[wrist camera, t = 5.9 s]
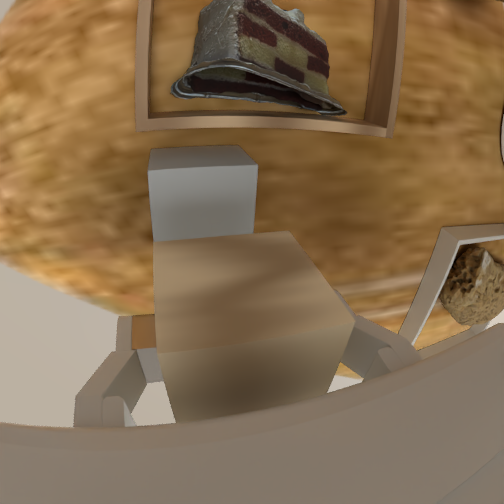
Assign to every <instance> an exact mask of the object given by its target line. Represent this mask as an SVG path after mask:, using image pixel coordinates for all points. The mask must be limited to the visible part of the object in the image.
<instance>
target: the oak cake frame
mask: <svg viewBox="0 0 504 504" xmlns="http://www.w3.org/2000/svg"><path fill="white" fill-rule="evenodd" d="M153 7H154V0H139V5H138V18H137V34H136V59H135V117H136V132H141V131H154V130H168V129H187V128H221V127H251V128H286V129H305V130H319V131H332V132H342V133H352V134H361V135H370V136H378V137H385V138H393V132H394V126H395V120H396V113H397V106H398V99H399V92H400V84H401V75H402V66H403V56H404V44H405V30H406V10H407V0H375V19H374V34H373V47H372V58H371V68H370V78H369V87H368V95H367V103H366V111H365V118H364V120H359V119H352V118H344V117H335V116H326V115H316V114H305V113H291V112H274V111H248V110H201V111H174V112H158V113H150V64H151V38H152V21H153Z"/></svg>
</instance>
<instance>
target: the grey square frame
mask: <svg viewBox="0 0 504 504" xmlns="http://www.w3.org/2000/svg"><path fill="white" fill-rule="evenodd" d="M499 239H504V223H502V224H486V225H470V226H455V227H442V228H441V231H440V234H439V237H438V240H437V243H436V245H435V248H434V251H433V254H432V256H431V259H430V262H429V264H428V267H427V269H426V272H425V274H424V277H423V279H422V282H421V284H420V287H419V289H418V291H417V294H416V296H415V298H414V301H413V303H412V305H411V307H410V310H409V312H408V314H407V316H406V318H405V320H404V322H403V325H402V327H401V329H400V331H399V333H398V335H400V336H402V337H404V338H406V339H408V340H409V342H410V343H411V344H412V346H413V345H414V343H415V341H416V339H417V337H418V336H419V334H420V332H421V330H422V328H423V326H424V324H425V322H426V320H427V318H428V316H429V314H430V312H431V310H432V308H433V306H434V304H435V302H436V300H437V298H438V296H439V294H440V291H441V289H442V287H443V285H444V283H445V280H446V278H447V276H448V273H449V271H450V269H451V266H452V264H453V261H454V259H455V256H456V254H457V251H458V249H459V246H460V245H463V244H470V243H478V242H485V241H492V240H499ZM490 321H491V320H490ZM490 321H488V322H486V323H485V324H478V325H477V324H475V325H472V327H471V328H470V329H468V330H466V331H464V332H462V333H459V334H457V335H455V336H453V337H450V338H448V339H445V340H443V341H441V342H438V343H436V344H433V345H431V346H428V347H426V348H423V349H421V350H418V351H417V352H418V353H419V355H420V356H421V357H422V359H425V358H428V357H430V356H432V355H435V354H437V353H439V352H441V351H444V350H446V349H448V348H450V347H452V346H454V345H457V344H459V343H461V342H463V341H465V340H467V339H469V338H471V337H473V336H475V335H477V334H479V333H481V332H483V331H484V330H486V328H487V326H488V325H489V323H490Z"/></svg>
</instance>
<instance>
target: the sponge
mask: <svg viewBox="0 0 504 504" xmlns="http://www.w3.org/2000/svg"><path fill="white" fill-rule="evenodd" d="M453 266H454V268H455V269H453V268H451V269H450V271H449V273H448V276H447V278H446V280H445V283H444V285H443V287H442V289H441V291H440V298H441V301H442V304H443V306H444V307H445V308H446V309H447V310H448V312H449V313H450V314H451V316H452V317H453V318H454V319H455V320H456V321H457V322H458V323H459V324H461V325H469V326H471V325H475V324H477V325H478V324H485V323H486V322H488V321H490V320H492V319H493V318H494V317H496V316H497V315H498V314H499V313H500V312H501V311H502V310H503V309H504V265H503V264H499V263H496V262H494V261H493V258H492V257H491V256H490V254H489V253H488V251H487V250H486V249H485V248H479V247H476V248H474V249H472V248H469V249H467V251H466V253H463V254H462V255H461V256H460V257H459V258H458V259H457V261H456V263H454V264H453Z"/></svg>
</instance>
